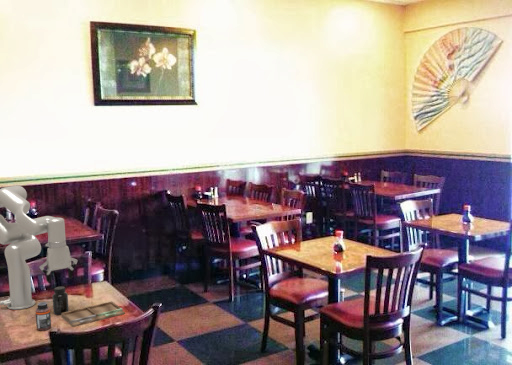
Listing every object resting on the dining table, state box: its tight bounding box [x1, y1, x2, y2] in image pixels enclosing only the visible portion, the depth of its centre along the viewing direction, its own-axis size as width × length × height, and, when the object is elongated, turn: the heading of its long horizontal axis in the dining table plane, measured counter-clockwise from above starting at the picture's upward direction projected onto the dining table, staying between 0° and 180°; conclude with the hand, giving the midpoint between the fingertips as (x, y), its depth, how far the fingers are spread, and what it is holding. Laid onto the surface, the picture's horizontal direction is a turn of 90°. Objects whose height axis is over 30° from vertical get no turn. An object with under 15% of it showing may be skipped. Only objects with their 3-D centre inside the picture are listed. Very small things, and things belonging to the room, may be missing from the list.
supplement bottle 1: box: [35, 301, 52, 331], centre depth 234 cm, size 6×6×11 cm
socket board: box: [60, 301, 126, 328], centre depth 249 cm, size 24×15×2 cm, turn 128°
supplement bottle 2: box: [52, 286, 70, 316], centre depth 253 cm, size 7×7×12 cm
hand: (60, 280), depth 251 cm, fingers open, 9 cm apart
